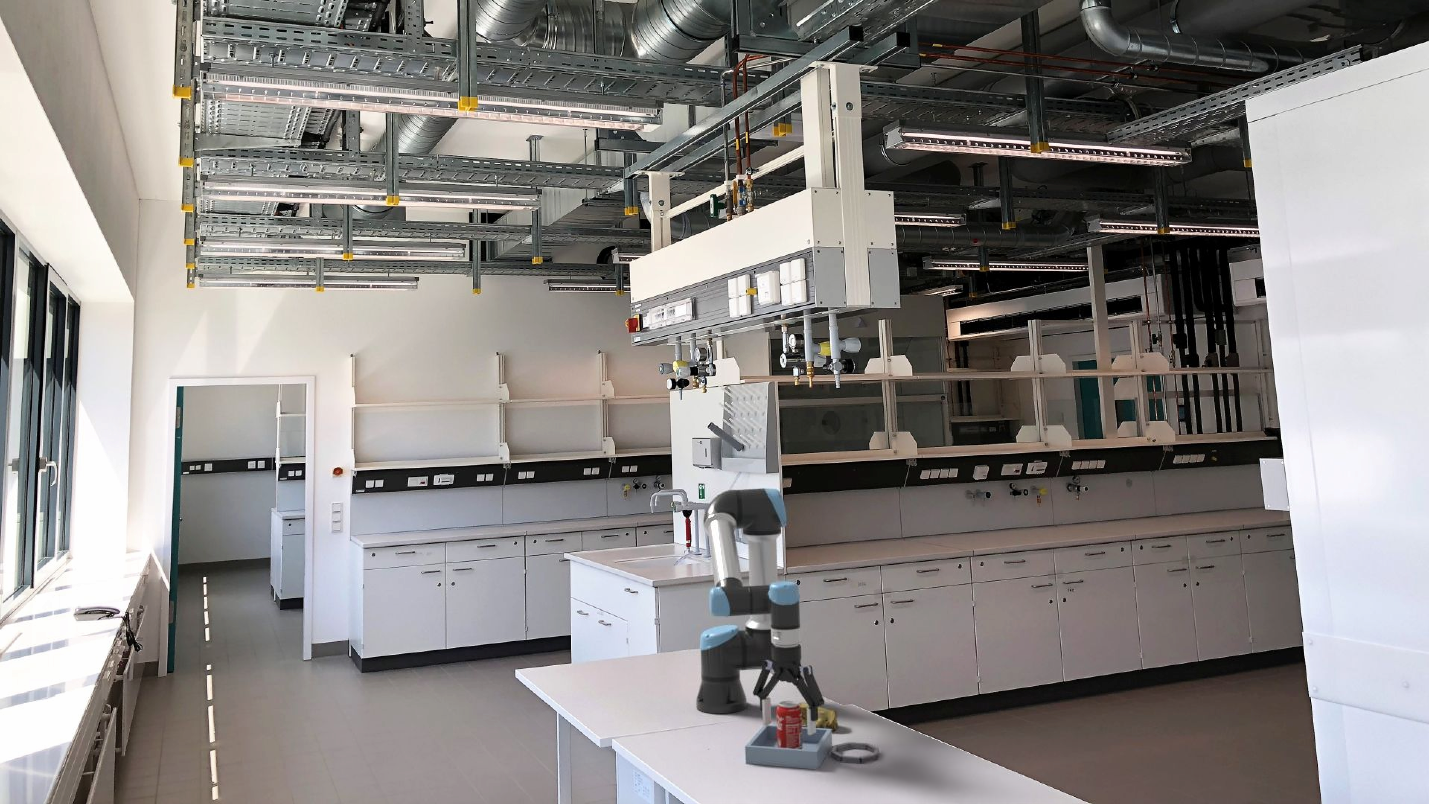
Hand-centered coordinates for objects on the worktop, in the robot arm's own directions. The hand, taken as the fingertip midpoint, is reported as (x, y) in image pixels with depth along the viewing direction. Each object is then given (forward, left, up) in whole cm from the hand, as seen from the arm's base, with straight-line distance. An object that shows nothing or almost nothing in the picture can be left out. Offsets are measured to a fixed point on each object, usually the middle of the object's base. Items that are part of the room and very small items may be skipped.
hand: (789, 729), depth 235 cm
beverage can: (0, 0, -6) cm, 6 cm away
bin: (0, 0, -6) cm, 6 cm away
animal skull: (-23, +1, -7) cm, 24 cm away
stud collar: (-3, +16, -6) cm, 17 cm away
